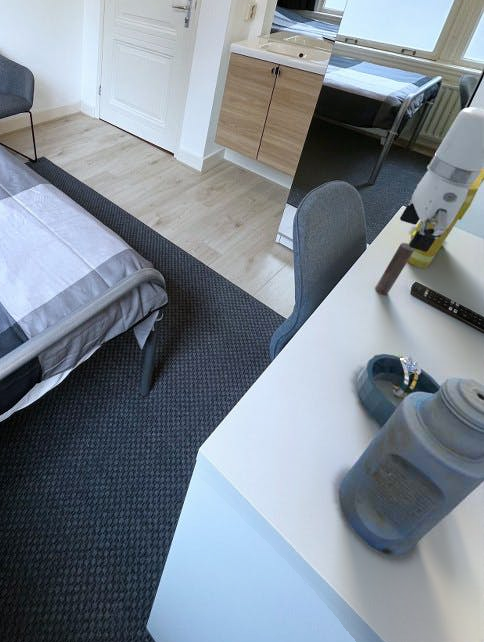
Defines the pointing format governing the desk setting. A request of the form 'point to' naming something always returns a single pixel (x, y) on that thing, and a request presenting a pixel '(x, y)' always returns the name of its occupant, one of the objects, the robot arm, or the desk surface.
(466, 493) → the bottle
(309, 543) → the desk surface
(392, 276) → the brown wooden dowel
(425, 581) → the desk surface
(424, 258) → the yellow toy tower
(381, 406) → the bowl
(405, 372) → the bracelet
